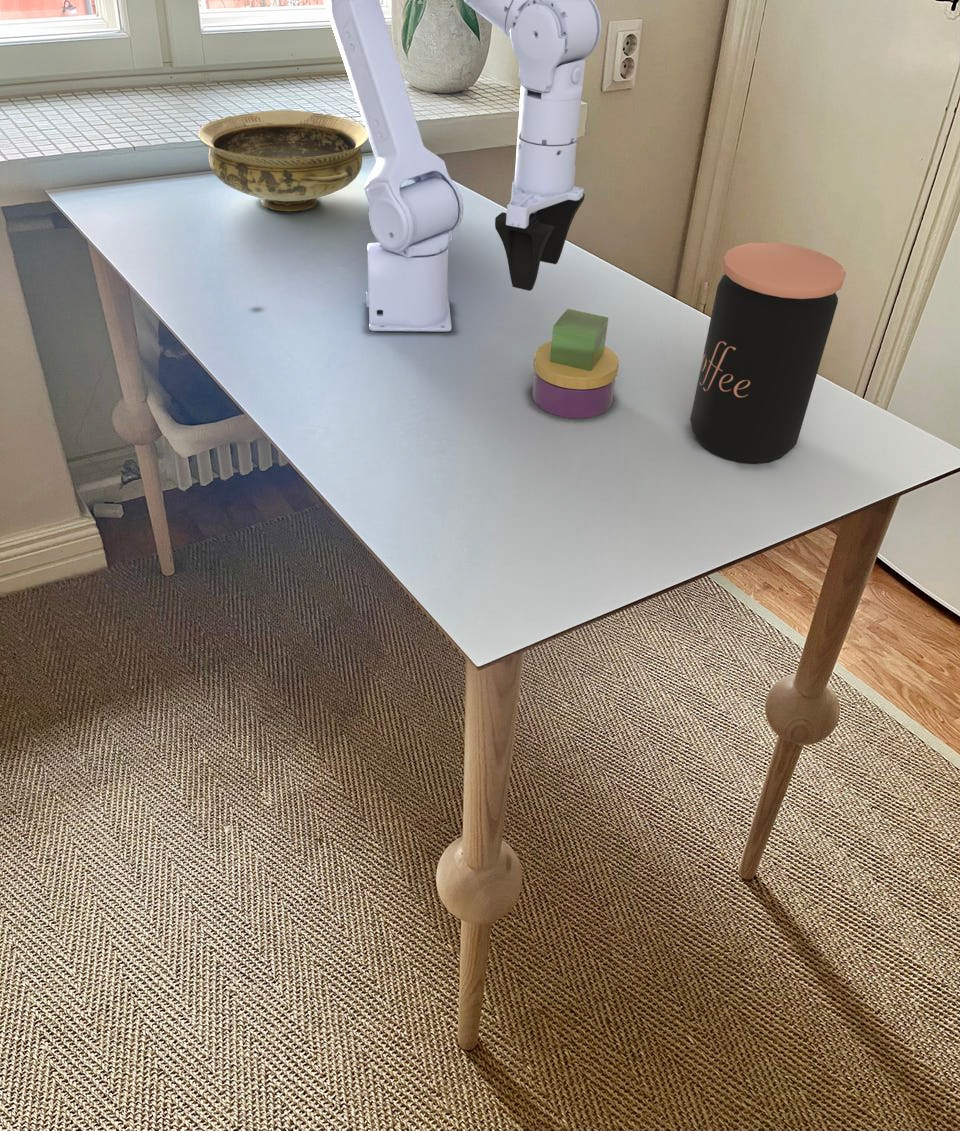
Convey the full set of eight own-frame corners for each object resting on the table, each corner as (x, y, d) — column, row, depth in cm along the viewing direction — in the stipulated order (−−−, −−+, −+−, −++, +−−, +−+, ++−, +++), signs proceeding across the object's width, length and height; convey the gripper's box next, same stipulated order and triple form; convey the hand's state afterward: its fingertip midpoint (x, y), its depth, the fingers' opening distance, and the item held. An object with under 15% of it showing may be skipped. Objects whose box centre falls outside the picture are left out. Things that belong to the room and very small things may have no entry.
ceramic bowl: (412, 220, 141) (412, 148, 134) (259, 251, 130) (251, 173, 123) (315, 162, 159) (310, 96, 153) (174, 184, 148) (163, 114, 142)
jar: (537, 418, 99) (540, 381, 96) (528, 378, 105) (531, 343, 103) (618, 418, 100) (624, 382, 97) (604, 379, 106) (609, 343, 103)
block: (591, 371, 97) (595, 334, 95) (549, 361, 99) (553, 325, 96) (603, 353, 101) (608, 317, 98) (563, 344, 102) (567, 308, 99)
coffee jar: (676, 411, 101) (709, 241, 90) (775, 411, 102) (821, 242, 91) (703, 468, 93) (743, 288, 82) (811, 467, 94) (865, 289, 83)
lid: (538, 389, 97) (539, 378, 96) (529, 349, 103) (530, 338, 103) (624, 390, 97) (626, 378, 97) (609, 350, 104) (611, 338, 103)
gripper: (562, 164, 87) (548, 308, 95) (609, 125, 97) (593, 257, 106) (488, 152, 88) (481, 293, 97) (543, 114, 99) (532, 245, 108)
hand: (535, 274), depth 101 cm, fingers open, 7 cm apart
